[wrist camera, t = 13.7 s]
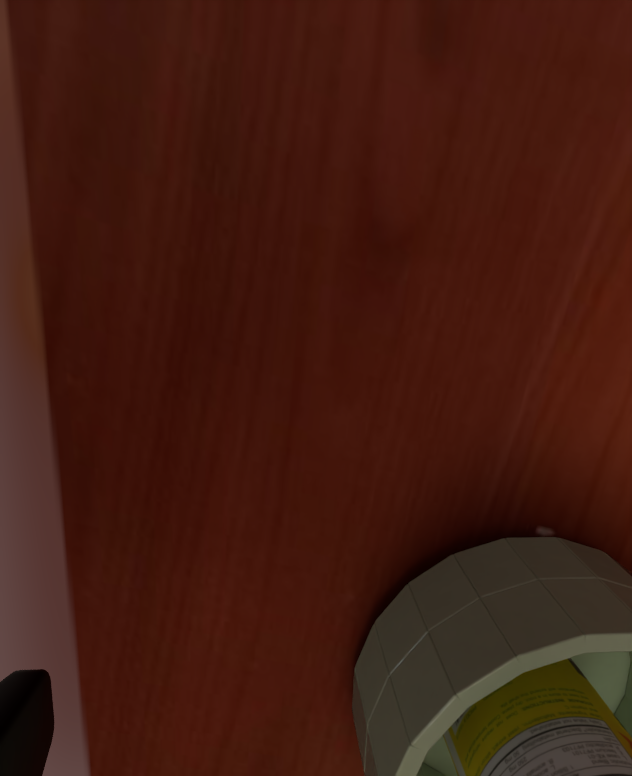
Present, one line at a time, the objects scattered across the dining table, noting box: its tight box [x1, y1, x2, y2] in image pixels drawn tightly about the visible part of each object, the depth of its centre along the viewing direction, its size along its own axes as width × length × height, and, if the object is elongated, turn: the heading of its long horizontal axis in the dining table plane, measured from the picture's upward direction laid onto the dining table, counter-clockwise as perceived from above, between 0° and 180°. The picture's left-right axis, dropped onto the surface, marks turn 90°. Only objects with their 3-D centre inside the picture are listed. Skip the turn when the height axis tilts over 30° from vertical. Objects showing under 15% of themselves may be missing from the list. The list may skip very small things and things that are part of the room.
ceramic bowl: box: [352, 537, 632, 776], centre depth 20 cm, size 12×12×6 cm
